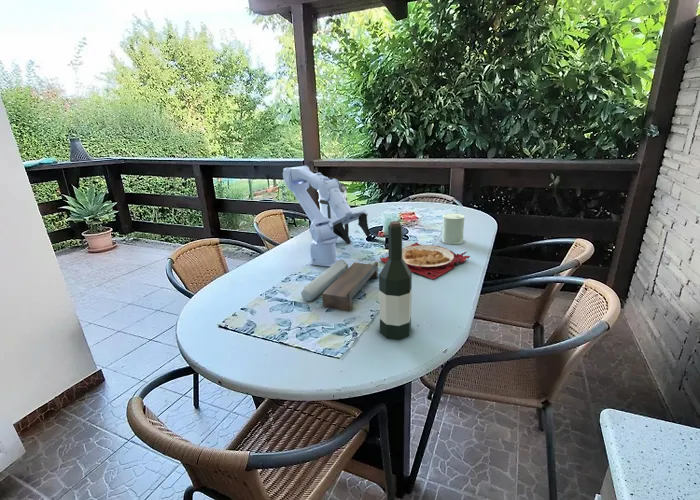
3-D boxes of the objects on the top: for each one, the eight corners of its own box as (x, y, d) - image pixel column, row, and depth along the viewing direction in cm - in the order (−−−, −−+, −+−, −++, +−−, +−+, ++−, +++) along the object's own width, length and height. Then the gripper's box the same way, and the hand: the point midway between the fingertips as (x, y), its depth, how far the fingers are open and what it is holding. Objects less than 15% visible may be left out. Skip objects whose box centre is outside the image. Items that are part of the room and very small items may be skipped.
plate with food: (416, 246, 159) (416, 239, 158) (470, 259, 141) (470, 251, 139) (378, 262, 144) (378, 254, 143) (433, 279, 126) (433, 270, 125)
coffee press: (312, 247, 163) (307, 180, 153) (327, 236, 177) (323, 174, 167) (348, 250, 157) (345, 180, 147) (361, 239, 171) (358, 174, 161)
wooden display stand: (323, 306, 112) (321, 290, 110) (354, 273, 134) (354, 259, 132) (350, 311, 108) (349, 294, 106) (378, 276, 131) (377, 261, 129)
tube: (313, 293, 112) (350, 263, 132) (299, 285, 113) (337, 257, 134) (310, 306, 114) (346, 275, 135) (296, 299, 116) (334, 269, 136)
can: (452, 245, 157) (453, 218, 153) (437, 240, 165) (438, 214, 160) (467, 241, 161) (469, 215, 157) (452, 236, 169) (453, 211, 165)
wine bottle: (377, 324, 101) (375, 219, 91) (407, 321, 101) (408, 216, 91) (382, 341, 93) (380, 228, 83) (414, 338, 94) (416, 226, 83)
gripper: (323, 207, 122) (342, 240, 117) (361, 195, 127) (380, 226, 122) (321, 218, 128) (338, 250, 123) (357, 206, 133) (375, 236, 128)
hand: (359, 239), depth 123 cm, fingers open, 7 cm apart
